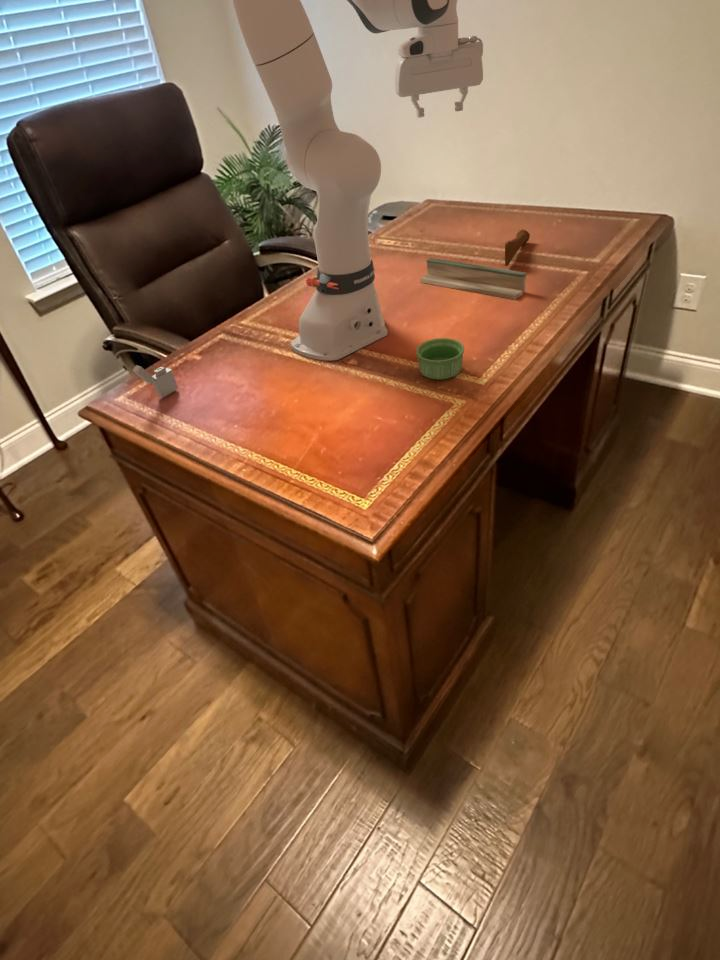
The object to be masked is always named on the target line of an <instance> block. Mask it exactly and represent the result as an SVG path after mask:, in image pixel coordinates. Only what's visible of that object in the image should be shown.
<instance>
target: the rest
mask: <svg viewBox="0 0 720 960" xmlns="http://www.w3.org/2000/svg"><path fill="white" fill-rule="evenodd" d="M426 273H427V274H425V275H423V276H422V277H421V278H420V283H423V284H428V285H433V286H439V287H445V288H449V289H456V290H461V291H465V292H471V293H477V294H483V295H487V296H493V297H498V298H499V297H500V298H506V299H508V300H509V299H510V300H514V301H516V300H517V299H518V298H520V297H521V296H522V295H523V294H525V293H526V284H527V272H522V271H517V270H511V269H504V268H500V267H499V268H498V267H491V266H485V265H479V264H472V263H465V262H460V261H454V260H453V261H452V260H447V259H446V260H445V259H439V258H433V257H429V258H427V259H426Z"/></svg>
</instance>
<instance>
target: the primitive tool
mask: <svg viewBox="0 0 720 960" xmlns="http://www.w3.org/2000/svg"><path fill="white" fill-rule="evenodd" d="M515 236H516V237H514V238H513V239H512V240H508V241H507V242H505V244H504V266H505V267H508V265H510V263H511V261H512V260H513V259H514V257H515V255H517V253H518V252H519V250H521V249H520V248H521V247H522V245H524V244H526V243H528V241H530V236H531V234H530V233H529V232H528V231H527V230H526V229H521V230H519V231H518V232H517V233H516V235H515Z"/></svg>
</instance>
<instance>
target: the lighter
mask: <svg viewBox="0 0 720 960" xmlns="http://www.w3.org/2000/svg"><path fill="white" fill-rule="evenodd" d="M153 371H154V374H153V375H151V374H150V372H149V371H147V370H146V369H144V368H143V366H140V365H137V364H136V365H135V366H134V368H133V369H132V372H133V373H134V374H135V375H137V376H138V377H139V378H140V379H141V380H143V381H144V382H145V383H146V384H149V385H152V384H153V386H154V390H155V392H156V395H157V396H158V397H160V398H165V397H166V396H168V395H170V394H171V393H173V392H175V391H176V390H178V389H179V387H178V384H177V382H176V378H175V376H174V373H173V370H172V369H171V368H168V367H166V366H160V367H158V368H156V369H155V370H153Z"/></svg>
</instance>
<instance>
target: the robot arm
mask: <svg viewBox="0 0 720 960" xmlns="http://www.w3.org/2000/svg"><path fill="white" fill-rule="evenodd" d="M346 1H347V2H348V3H349V4H350V5H351V6H352V8H353V9H354V10H355V12H356V14H357V16H358V17H359V19H360V22H361V23H362V24H363V25H364V27H365V28H366V29H367V30H368V31H369V32H370V33H372V34H374V35H375V34H376V35H377V34H381V33H385V32H389V31H396V30H405V29H407V30H408V29H412V28H413V29H414V28H417V34H416V35H413V36H412V37H411V38H409V39H407V40H405V41H404V42H401V43H400V44H399V45H398V47H397V53H398V56H400V57H399V58H398V60H397V61H396V64H395V71H394V72H395V73H394V87H395V88H394V89H395V93H396V95H397V96H398V97H400V98H407V97H408V98H409V97H410V100H411V102H412V105H413V106H414V108H415V112H416V118H418V119H419V118H424V117H425V108H424V107H420V105H419V103H418V101H420V96H421V95H425V94H426V95H427V94H432V93H437V92H438V93H439V92H444V91H451V90H457V89H458V92H459V93H460V96H459V98H458V100H457V101H454V111H455V112H462V111H464V102H465V100H466V98H467V95H468V91H469V88H470V87H476V86H480V85H481V84H482V82H483V80H484V68H483V59H482V57H483V53H484V43H483V41H482V39H481V38H479V37H478V36H476V35H472V36H468V37H459V17H458V13H457V12H458V11H457V7H458V6H457V4H458V0H346ZM232 2H233V3H232V4H233V6H234V7H233V8H234V11H235V15H236V18H237V22H238V24H239V25H238V26H239V29H240V32H241V34H242V37H243V40H244V42H245V44H246V48H247V50H248V53H249V55H250V57H251V60H252V62H253V64H254V66H255V68H256V71H257V74H258V75H259V78H260V81H261V82H262V85H263V87H264V88H265V92H266V94H267V96H268V98H269V101H270V102H271V104H272V108H273V110H274V112H275V116H276V117H277V122H278V124H279V128H280V132H281V135H282V139H283V143H284V147H285V162H286V163H285V164H286V166H287V169H288V170H289V172H290V174H291V175H292V176H293V178H295V179H296V180H297V181H298V183H300V184H301V185H302V186H303V187H304V188H307V189H309V190H312V191H315V192H316V196H317V199H318V200H317V201H318V203H317V205H318V207H317V209H318V211H317V218H316V219H317V221H316V223H315V225H314V227H313V230H312V232H313V233H312V234H313V240H314V247H315V251H316V252H315V253H316V257H317V263H318V264H317V265H318V267H317V272H316V276H311V275H309V276H306V279H305V285H306V286H308V287H312V288H315V291H314V292H313V295H312V296H311V298H310V299H309V302H308V303H307V305H306V306H305V309H304V310H303V312H302V314H301V315H300V317H299V320H298V329H299V330H298V331H299V335H298V336H296V337H295V338H294V339H293V340H291V342H290V348H291V349H292V350H293V352H295V353H297V354H298V355H300V356H303V357H306V358H309V359H314V360H318V361H338V360H340V359H342V358H344V357H346V356H348V355H350V354H352V353H354V352H356V351H358V350H361V349H363V348H364V347H366V346H368V345H371V344H372V343H374V342H376V341H378V340H381V339H382V338H384V337H386V336H388V334H389V333H388V328H387V327H386V322H385V319H384V317H383V313H382V307H381V303H380V299H379V295H378V292H377V289H376V286H375V284H374V283H375V282H374V280H375V277H376V276H375V275H376V274H375V271H376V270H375V267H374V261H373V260H372V258H371V251H370V249H371V248H370V239H369V230H368V229H369V228H368V227H369V226H368V225H369V224H368V221H369V210H370V204H371V197H372V194H373V193H374V191H375V190H376V189H377V187H378V185H379V182H380V179H381V175H382V165H381V163H382V162H381V158H380V155H379V153H378V152H377V150H376V149H375V148H374V146H373V145H371V144H370V143H369V142H368V141H366V139H365V138H362V137H361V136H359V135H357V134H355V133H351V132H346V131H343V130H342V131H341V130H340V129H339V127H338V125H337V123H336V121H335V117H334V111H333V106H332V105H333V104H332V89H333V82H332V77H331V75H330V72H329V69H328V67H327V64H326V61H325V59H324V57H323V54H322V51H321V48H320V45H319V43H318V40H317V37H316V35H315V32H314V29H313V27H312V24H311V22H310V19H309V17H308V15H307V14H308V13H306V9H305V8H304V4H302V2H301V0H232Z"/></svg>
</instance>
